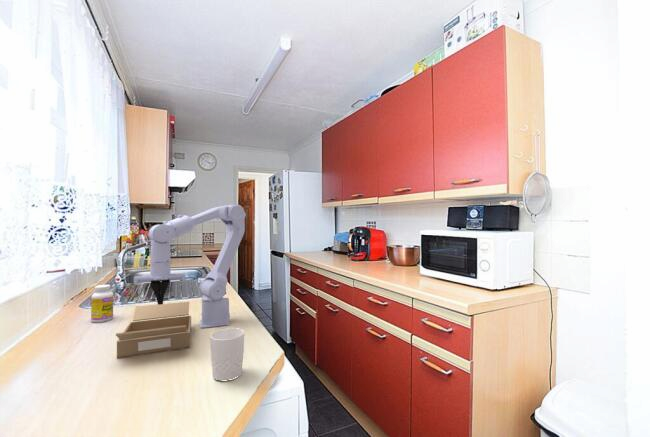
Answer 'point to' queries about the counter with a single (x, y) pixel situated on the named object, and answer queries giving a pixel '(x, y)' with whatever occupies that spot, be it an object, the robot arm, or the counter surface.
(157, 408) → the counter surface
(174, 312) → the far flap
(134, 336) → the near flap
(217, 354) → the white cup
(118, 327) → the counter surface
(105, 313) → the supplement bottle
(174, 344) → the carton
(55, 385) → the counter surface
